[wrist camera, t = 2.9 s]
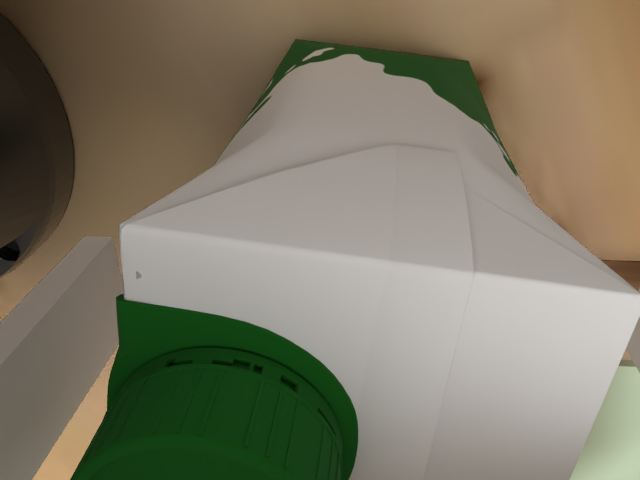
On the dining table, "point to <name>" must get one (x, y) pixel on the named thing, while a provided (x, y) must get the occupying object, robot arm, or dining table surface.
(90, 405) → the dining table surface
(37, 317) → the robot arm
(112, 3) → the dining table surface
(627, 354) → the step block
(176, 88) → the dining table surface
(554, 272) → the soya milk
